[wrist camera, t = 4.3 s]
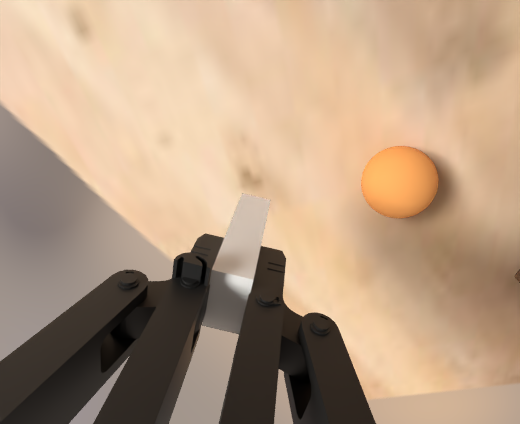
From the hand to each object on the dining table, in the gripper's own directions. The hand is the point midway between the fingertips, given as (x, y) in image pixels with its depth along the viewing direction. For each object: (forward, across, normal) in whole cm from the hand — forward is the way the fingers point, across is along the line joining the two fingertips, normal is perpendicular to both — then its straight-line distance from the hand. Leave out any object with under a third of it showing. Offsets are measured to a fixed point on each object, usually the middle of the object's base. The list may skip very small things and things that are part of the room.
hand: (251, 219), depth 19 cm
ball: (+10, +10, 0) cm, 14 cm away
